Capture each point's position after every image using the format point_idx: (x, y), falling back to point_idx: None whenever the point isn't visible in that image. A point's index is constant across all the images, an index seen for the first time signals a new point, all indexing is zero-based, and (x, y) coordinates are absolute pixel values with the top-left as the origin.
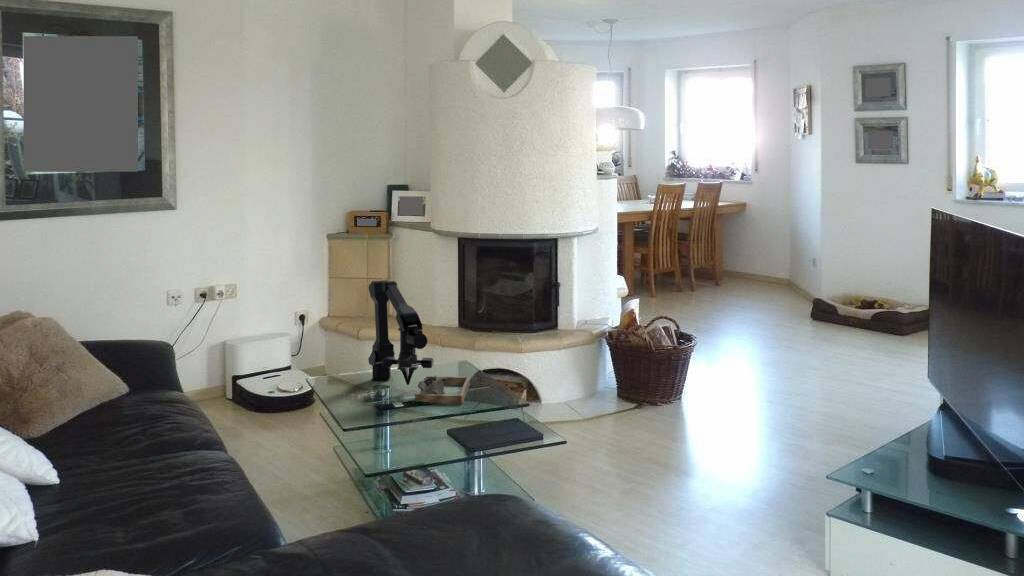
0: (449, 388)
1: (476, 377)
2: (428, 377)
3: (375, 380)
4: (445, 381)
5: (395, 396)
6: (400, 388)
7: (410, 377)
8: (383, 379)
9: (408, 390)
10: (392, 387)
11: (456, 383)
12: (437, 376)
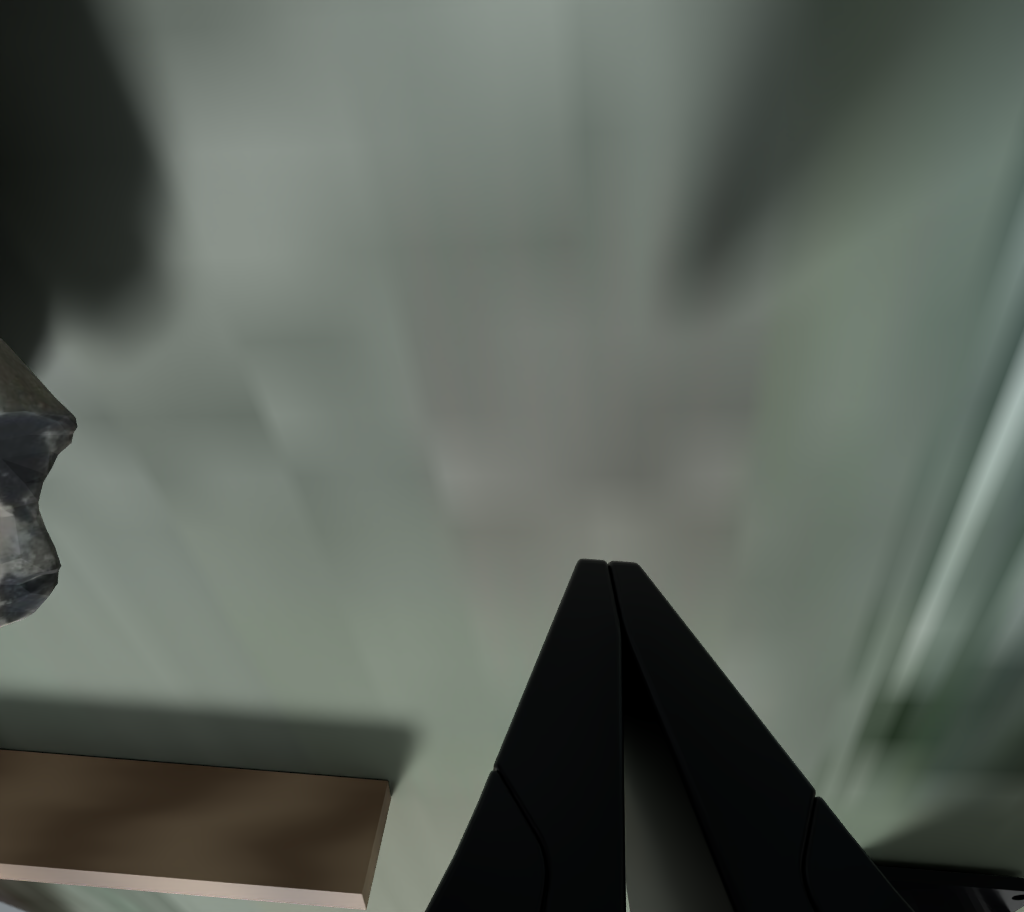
0: (13, 649)
1: (13, 885)
2: (331, 878)
3: (986, 876)
4: (131, 803)
5: (936, 90)
6: (717, 659)
7: (521, 746)
8: (894, 887)
9: None
10: (833, 697)
11: (14, 769)
12: (213, 891)
